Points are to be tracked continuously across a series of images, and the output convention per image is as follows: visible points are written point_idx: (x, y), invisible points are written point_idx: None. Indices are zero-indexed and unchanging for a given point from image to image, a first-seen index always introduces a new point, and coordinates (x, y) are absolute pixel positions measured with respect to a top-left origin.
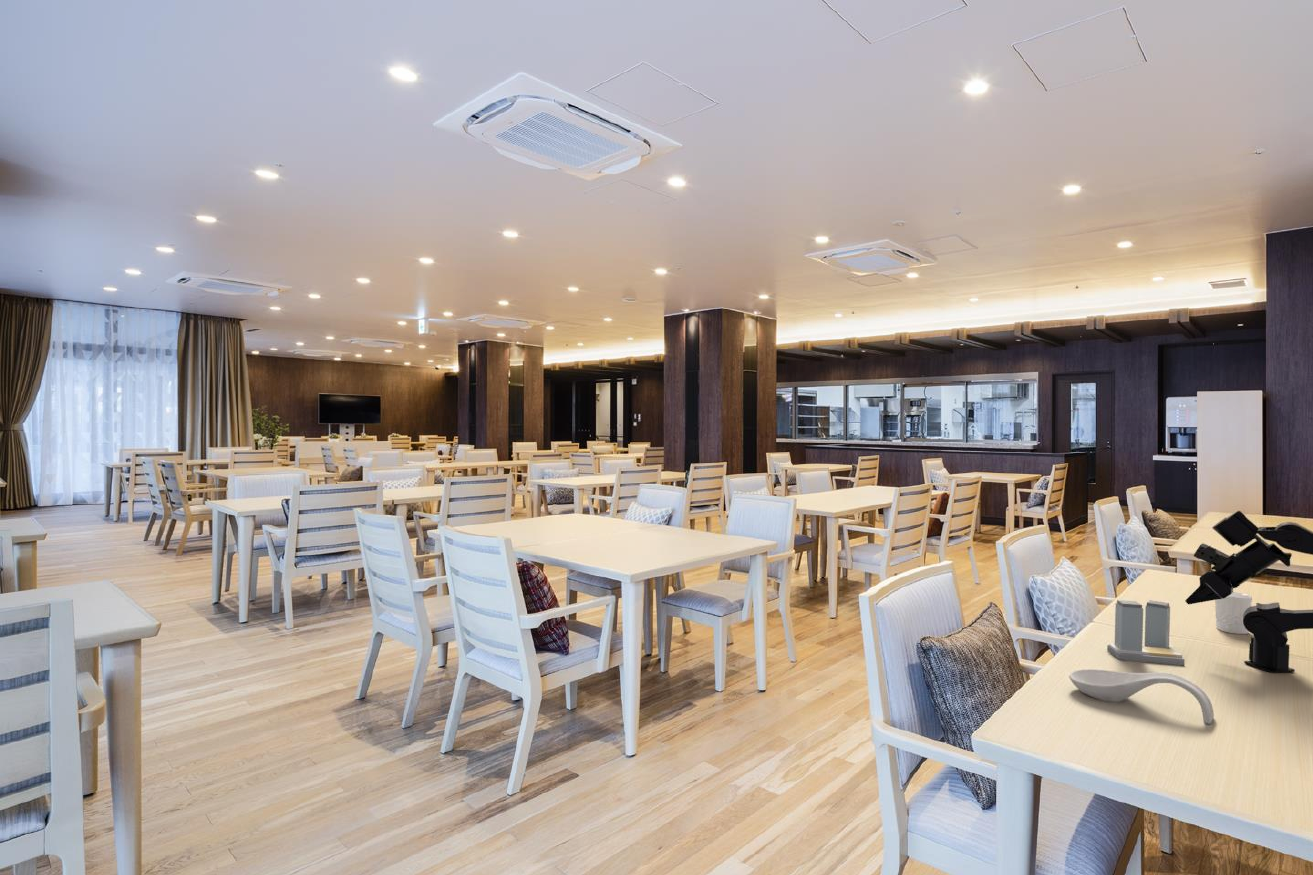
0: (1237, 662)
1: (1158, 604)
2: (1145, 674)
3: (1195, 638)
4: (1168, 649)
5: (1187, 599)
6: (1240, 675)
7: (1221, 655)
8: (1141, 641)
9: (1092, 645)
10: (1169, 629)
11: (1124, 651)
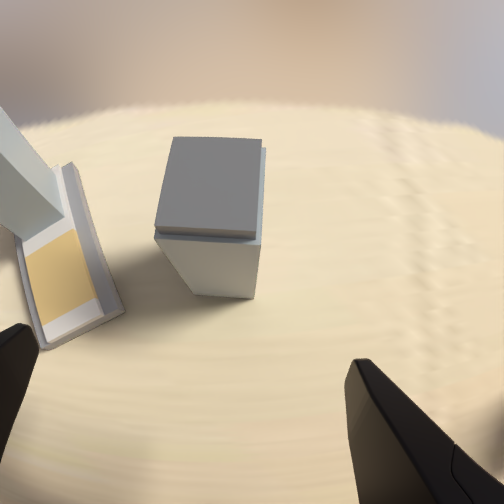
0: (205, 489)
1: (163, 187)
2: None
3: (438, 347)
4: (84, 303)
5: (3, 335)
6: (63, 474)
7: (264, 450)
8: (8, 227)
9: (108, 136)
10: (254, 283)
11: None
